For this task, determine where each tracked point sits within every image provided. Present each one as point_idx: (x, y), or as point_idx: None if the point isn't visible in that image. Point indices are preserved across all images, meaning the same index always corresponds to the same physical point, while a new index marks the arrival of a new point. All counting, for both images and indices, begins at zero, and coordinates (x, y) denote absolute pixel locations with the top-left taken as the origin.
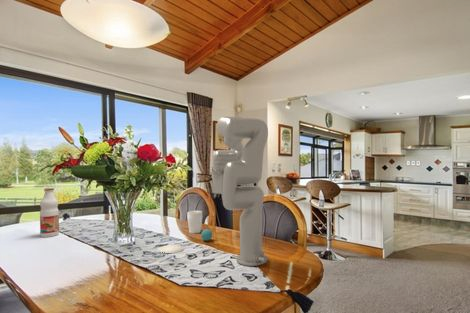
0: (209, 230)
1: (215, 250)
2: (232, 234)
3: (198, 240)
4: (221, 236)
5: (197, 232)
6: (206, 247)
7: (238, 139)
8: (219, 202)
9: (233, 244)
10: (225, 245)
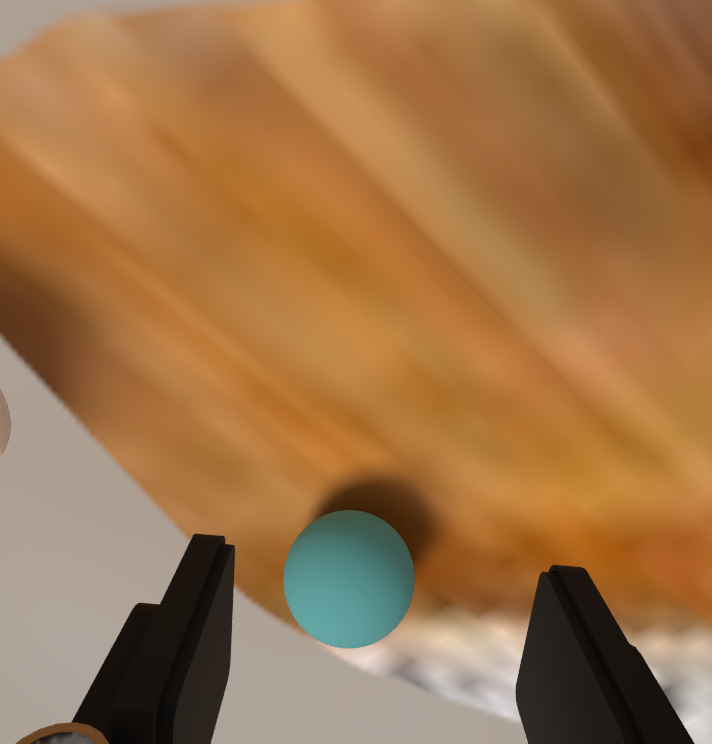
0: (383, 600)
1: None
2: (385, 178)
3: (278, 585)
4: (346, 337)
5: (9, 430)
6: (513, 662)
7: None
8: (218, 591)
9: (668, 458)
10: (620, 527)
